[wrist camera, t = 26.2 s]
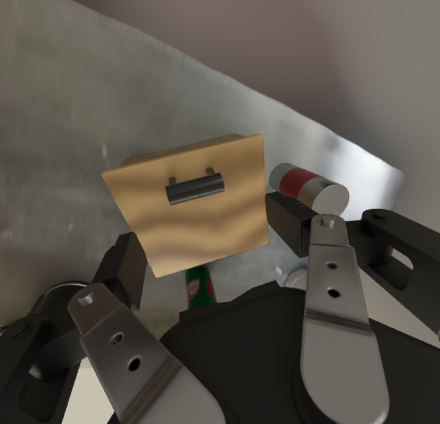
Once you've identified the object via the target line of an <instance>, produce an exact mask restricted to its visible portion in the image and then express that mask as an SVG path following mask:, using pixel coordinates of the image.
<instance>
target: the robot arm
mask: <svg viewBox="0 0 440 424" xmlns="http://www.w3.org/2000/svg"><path fill="white" fill-rule="evenodd" d="M265 207H266V217H267V221H268V223H269V225H270V226H271V227H272V228H273V230H274V231H275V232H276V233H277V234H278V235H279V236H280V237H281V238H282V239H283V240H284V242H285V243H286V244H287V245H288V246H289V247H290V248H291V249H292V250H293V251H294V253H295V254H296V255H297V256H298V257H299V258H303V257H306V256H308V270H307V284H306V290H303V289H298V288H292V287H280V286H279V285H278V283H277V282H276V280H274V281H271V282H269V283H266V284H263V285H260V286H257V287H254V288H252V289H250V290H249V291H247V292H245V293H244V294H242V295H241V296H239V297H237V298H236V299H234V300H232V301H230V302H223V303H212V304H203V305H200V306H197V307H194V308H192V309H189V310H186V311H183V312H180V313H179V320H180V322H178V323H177V324H175V325H174V326H173V327H171V328H170V329H169V330H168V331H167V332H166V333H165V334H164V335H163V336H162V337H161V338H160V340H158V339H157V338H156V337H155V336H154V335H153V334H152V333H151V332H150V331H149V329H148V328H147V327H146V326H145V325H144V324H143V323H142V322H141V321H140V320H139V319H138V318H137V317H136V316H135V315H134V312H137V311H139V308H140V302H141V295H142V289H143V283H144V277H145V271H146V264H147V258H146V254H145V251H144V249H143V247H142V245H141V243H140V241H139V239H138V237H137V235H136V233H135V232H129V233H126V234H122V235H119V237H118V239H117V242H116V244H115V246H112V247H111V248H110V249H109V250H108V251H107V252H106V253H105V255H104V257H103V259H102V261H101V264H100V267H99V268H98V270H97V272H96V274H95V276H94V278H93V280H92V282H91V284H88V283H84V282H77V281H70V282H63V283H60V284H57V285H55V286H53V287H52V288H51V289H49V291H48V292H47V293H46V295H44V296H41V297H40V298H39V300H38V301H37V302H36V304H35V305H34V307H33V308H32V309H31V311H30V312H29V314H28V315H27V316H26V317H24V318H22V319H20V320H19V321H17V322H16V323H14V324H13V325H12V326H9V327H6V328H2V329H0V334H1V333H3V334H2V335H1V336H0V424H61V423H62V420H63V417H64V414H65V411H66V408H67V405H68V401H69V398H70V395H71V392H72V388H73V385H74V382H75V379H76V376H77V373H78V369H79V366H80V363H81V360H82V359H84V358H85V357H88V359H89V361H90V363H91V365H92V367H93V369H94V371H95V373H96V375H97V377H98V379H99V381H100V383H101V385H102V387H103V389H104V391H105V393H106V395H107V397H108V399H109V401H110V403H111V405H112V407H113V409H114V413H113V415H112V416H111V418H110V420H109V421H108V423H107V424H440V349H439V348H437V347H435V346H433V345H430V344H428V343H426V342H423V341H421V340H419V339H417V338H414V337H412V336H410V335H407V334H405V333H403V332H401V331H398V330H396V329H394V328H391V327H389V326H387V325H384V324H382V323H380V322H378V321H375V320H373V319H371V318H368V314H367V309H366V304H365V299H364V294H363V289H362V284H361V279H360V274H359V269H358V266H359V267H360V268H361V269H362V270H363V271H364V272H365V273H367V274H368V275H369V276H370V277H371V278H372V279H373V280H375V281H376V282H377V283H378V284H379V285H380V286H381V287H383V288H384V289H385V290H386V291H387V292H388V293H389V294H391V295H392V296H393V297H394V298H395V299H396V300H398V301H399V302H400V303H401V304H402V305H403V306H404V307H406V308H407V309H408V310H409V311H410V312H411V313H413V314H414V315H415V316H416V317H417V318H418V319H419V320H420V321H422V322H423V323H424V324H425V325H426V326H427V327H429V328H430V329H431V330H432V331H433V332H434V333H435V334H436V335H438V338H439V341H440V233H438V232H436V231H434V230H432V229H429V228H427V227H425V226H423V225H421V224H419V223H417V222H415V221H412V220H410V219H408V218H406V217H404V216H402V215H399V214H397V213H395V212H393V211H390V210H385V209H369V210H366V211H364V212H363V213H362V218H361V220H355V221H345V220H344V219H343V218H341V217H339V216H337V215H333V214H319V213H317V212H315V211H314V210H312V209H311V208H309V207H308V206H306V205H305V204H303V203H301V202H300V201H299V200H297V199H296V198H292V197H289V196H284V195H283V194H281V193H280V192H278V191H276V192H272V193H269V194H266V195H265ZM393 249H396V250H397V251H399V252H401V253H402V254H404V255H405V256H407V257H408V258H409V259H410V260H411V262H412V264H413V270H412V269H410V268H409V267H407V266H406V265H404V264H403V263H402V262H400V261H399V260H397V259H396V258H394V257H393V256H391V255H392V252H393Z"/></svg>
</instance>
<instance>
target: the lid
mask: <svg viewBox="0 0 440 424" xmlns="http://www.w3.org/2000/svg"><path fill="white" fill-rule="evenodd" d="M101 175H102V177H103V179H104V181H105V183H106V184H107V186H108V188H109V190H110V192H111V194H112V196H113V198H114V199H115V201H116V203H117V205H118V207H119V209H120V211H121V213H122V214H123V216H124V218H125V220H126V222H127V224H128V226H129V228H130V229H131V231H132V232H135V233H136V235H137V237H138V239H139V241H140V243H141V245H142V247H143V249H144V251H145V254H146V258H147V261H148V263H149V265H150V267H151V269H152V271H153V272H154V274H155V276H156V278H159V277H162V276H165V275H169V274H172V273H175V272H178V271H182V270H185V269H188V268H192V267H195V266H198V265H201V264H205V263H208V262H211V261H214V260H218V259H221V258H224V257H227V256H231V255H234V254H237V253H241V252H244V251H247V250H250V249H254V248H257V247H260V246H263V245H267V244H269V241H268V223H267V217H266V207H265V195H266V187H265V169H264V151H263V135H262V134H256V135H251V136H247V137H243V138H239V139H235V140H231V141H226V142H222V143H218V144H214V145H210V146H206V147H201V148H197V149H193V150H189V151H185V152H181V153H176V154H172V155H168V156H164V157H160V158H156V159H151V160H147V161H143V162H139V163H135V164H131V165H126V166H122V167H118V168H114V169H110V170H106V171H103V172H102V173H101Z"/></svg>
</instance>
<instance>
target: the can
mask: <svg viewBox="0 0 440 424" xmlns="http://www.w3.org/2000/svg"><path fill="white" fill-rule="evenodd" d="M270 185H271V187H272V188H273V189H274V190H275V191H278V192H280V193H281V194H283V195H284V196H289V197H292V198H296V199H297V200H299V201H300V202H301V203H303V204H305V205H306V206H308V207H309V208H311V209H312V210H314V211H315V212H317V213H319V214H333V215H337V216H340V215H341V214H342V213H343V211H344V210H345V208H346V207H347V205H348V202H349V192H348V190H347V188H346V187H345V186H343V185H341V184H338V183H336V182H334V181H331V180H329V179H326V178H324V177H322V176H319V175H317V174H315V173H312V172H310V171H307V170H305V169H302V168H299V167H297V166H294V165H292V164H289V163H283V164H280V165H279V166H277V167H276V168H275V169H274V170H273V172H272V173H271V176H270Z"/></svg>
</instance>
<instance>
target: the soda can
mask: <svg viewBox="0 0 440 424" xmlns="http://www.w3.org/2000/svg"><path fill="white" fill-rule="evenodd" d="M185 278H186V290H187V302H188V310H189V309H192V308H194V307H197V306H200V305H203V304H212V303H217V301H216V297H215V293H214V288H213V284H212V280H211V276H210V272H209V270H208V269H207V268H205V267H203V266H195V267H193V268H191V269H190V270H189V271H188V272H187V273H186V277H185Z"/></svg>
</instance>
